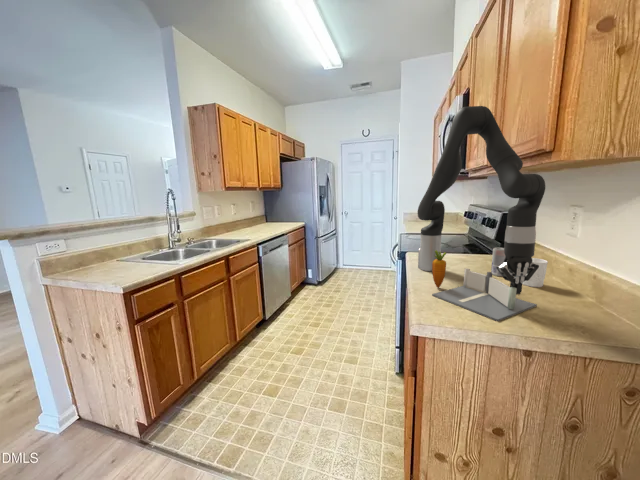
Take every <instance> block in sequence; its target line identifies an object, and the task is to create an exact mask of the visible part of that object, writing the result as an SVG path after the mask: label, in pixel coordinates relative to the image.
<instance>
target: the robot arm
mask: <svg viewBox="0 0 640 480" xmlns="http://www.w3.org/2000/svg"><path fill="white" fill-rule="evenodd" d="M469 135H479V136H480V137H481V138H482V139H483V140H484V142H485V146H486V147H485V156H486V157H485V158H486V159H487V161H488V163H489V164H490V166H491V168H492V169H493V170H494V171H495V173H496V174H497V177H498V182H499V183H500V188H501V190H502V191H503V193H504V194H505V196H507V197H509V198H511V199H518V201H517V203H516V205H514V206H511V207H509V209H508V211H507V219H506V228H505V233H504V247H503V248H504V254H505V256H506V257H505V259H504V263H503V264H502V265H501V266H497V270H498V271H499V272H500V274H501V275H502V276H501V277H503V279H504V280H505V281H507V282H510V285H509V287H515V288H517V291H516V296H517V295H521V293H522V290H523V284H522V283H523V282H524V281H528V280H529V279H530V278H531V277H532V275H533V274H534V273H535V272H536V270H537V269H538V268H539V265H536V264H534V263H533V262H532V261H533V260H532V258H534V256H535V251H536V250H535V247H536V237H537V231H536V229H537V227H536V225H537V213H538V210H539V208H540V205H541V202H542V201H543V198H544V194H545V192H546V182H545V179H544V177H543V176H542V175H540V174H538V173H522V172H521V170H522V168H523V165H524V162H523V160H522V158H521V157H520V156H519V155H518V153H516V151H515V149H514V148H512V146H511V145H510V144H509V143H508V140H506V138H505V136H504V134H503V133H502V130H501V127H500V126H499V124H498V123H497V120H496V118H495V116H494V115H493V112H492V111H491V110H490V109H489V107H487V106H485V105H476V106H474V105H473V106H471V105H470V106H463V107H460V108H459V109H458V111H457V112H456V114H455V115H454V117H453V119H452V121H451V126H450V129H449V133H448V136H447V139H446V143H445V145H444V148H443V151H442V153H441V156H440V158H439V161H438V163H437V164H436V167H435V170H434V171H433V175H432V178H431V180H430V183H429V184H428V186H427V189H426V190H425V193H424V195H423V197H422V199H421V201H420V203H419V205H418V208H417V217H418V219H419V220H421V221H427V222H428V221H430V223H429V224H427V225H426V226H424V227H422V228H421V229H420V241H419V242H420V245H419V246H420V248H418V255H417V259H418V260H417V268H418V269H419V270H422V271H424V272H425V271H426V272H432V263H433V261H434V260H435V259H437V258H436V257H435V256H437V255H436V253H435V251H436V250H437V251H438V254H439V252H441V250H442V234H443V233H442V231H443V230H444V222H445V221H444V219H445V211H446V209H445V204H444V203H443V202H442V200H437V199H438V198H439V197H440V196H441V195H442V194H444V193H445V192H446V191H447V190H449V189H450V188H451V187H453V185H454V184H455V183H456V182H457V179H458V177H459V175H460V173H461V171H462V168H463V167H462V166H463V162H462V156H461V147H462V145H463V142H464V139H465V138H466V136H469ZM441 253H442V252H441ZM526 275H527V276H526Z"/></svg>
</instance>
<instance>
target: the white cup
mask: <svg viewBox="0 0 640 480" xmlns="http://www.w3.org/2000/svg"><path fill="white" fill-rule="evenodd" d="M532 260H533V261H532V262H533V263H534V264H536V265H539V268H538V269H537V270H536V272H535V273H534V274H533V275H532V277H531V278H530V279H529V280H528V281H524V282H523V283H522V286H527V287H530V288H531V287H532V288H542V287H544V282H545V281H544V280H545V279H546V275H547V267H548V263H549V262H548V260H545V259H543V258H542V259H541V258H538V257H532ZM526 276H527V275H526Z"/></svg>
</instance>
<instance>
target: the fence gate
mask: <svg viewBox="0 0 640 480" xmlns="http://www.w3.org/2000/svg"><path fill="white" fill-rule="evenodd" d="M516 291H517V288H515V287H510V285H507V284H505V283H503V282H502V281H500V280H499V279H496V278H495V277H494V276H492V277H490V278H489V290H488V294H490V295H491V296H492V297H494V298H495V299H497V300H498V301H500V302H501V303H502V304H504V305H505V306H507V307H508V308H509V309H515V300H516V298H517V295H516Z"/></svg>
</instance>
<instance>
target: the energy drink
mask: <svg viewBox="0 0 640 480" xmlns="http://www.w3.org/2000/svg"><path fill="white" fill-rule="evenodd" d="M505 257H506V256H505V254H504V247H499V246H498V247H493V249H492V256H491V259H492V260H491V269H490V272H492V276H495V277H503V276H502V275H501V274H500V272H499V271H498V270H497V266H501V265H502V264H503V263H504V259H505Z"/></svg>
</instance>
